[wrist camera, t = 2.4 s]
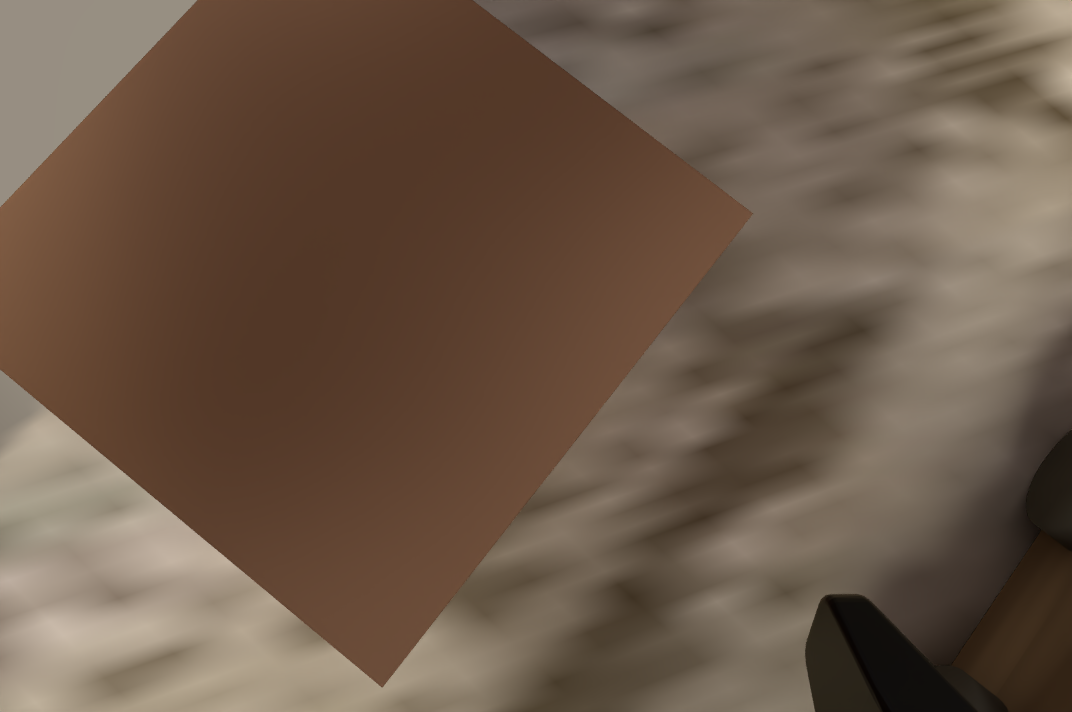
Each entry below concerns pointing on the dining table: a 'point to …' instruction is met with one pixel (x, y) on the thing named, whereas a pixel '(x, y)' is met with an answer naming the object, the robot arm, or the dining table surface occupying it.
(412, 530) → the brown square pillar
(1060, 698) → the cart
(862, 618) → the robot arm
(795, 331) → the dining table surface
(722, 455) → the dining table surface
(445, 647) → the dining table surface
